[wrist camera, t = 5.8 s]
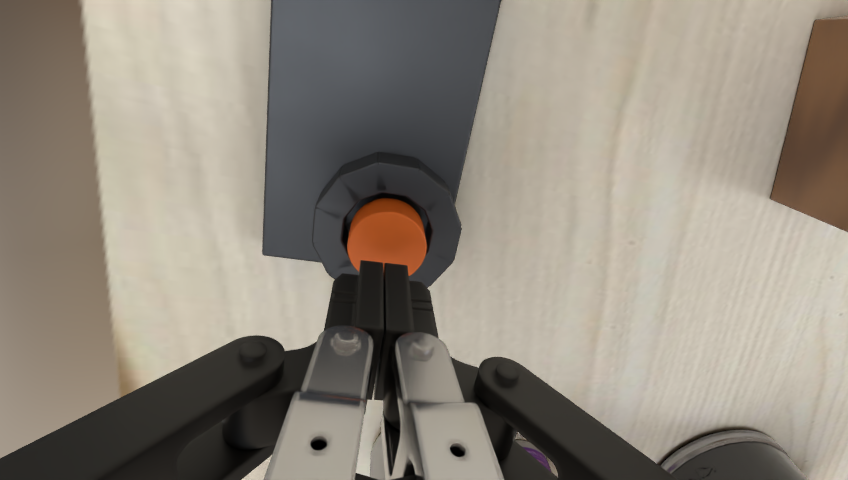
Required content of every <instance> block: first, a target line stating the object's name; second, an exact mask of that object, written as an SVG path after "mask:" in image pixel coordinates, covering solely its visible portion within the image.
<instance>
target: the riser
mask: <svg viewBox="0 0 848 480" xmlns="http://www.w3.org/2000/svg"><path fill="white" fill-rule="evenodd" d="M771 200H774V201H776V202H778V203H781V204H783V205H785V206H788V207H790V208H792V209H795V210H797V211H799V212H802V213H804V214H807V215H809V216H811V217H814V218H816V219H818V220H821V221H823V222H825V223H828V224H830V225H832V226H835V227H837V228H839V229H842V230H844V231H847V232H848V16H841V17H833V18H826V19H818V20H815V22H814V26H813V30H812V34H811V38H810V43H809V47H808V51H807V55H806V59H805V63H804V67H803V71H802V75H801V79H800V83H799V87H798V91H797V95H796V99H795V103H794V107H793V111H792V115H791V119H790V123H789V127H788V131H787V135H786V139H785V143H784V147H783V151H782V155H781V159H780V163H779V167H778V171H777V175H776V179H775V183H774V187H773V191H772V195H771Z"/></svg>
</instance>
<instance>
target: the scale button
mask: <svg viewBox="0 0 848 480" xmlns="http://www.w3.org/2000/svg"><path fill="white" fill-rule="evenodd" d="M347 250H348V255H349V258H350V261H351V263H352V264H353V266H354V267H355V268H356V269H357V270H358V271H359V268H360V261H361V260H366V261H375V262H383V268H384V264H385V263H393V264H401V265H407V266H408V275H409V276H410V275H412V274H413V273H414V272H415V271H416V270H417V269H418V268H419V267H420V266H421V264H422V262H423V260H424V258H425V255H426V250H427V243H426V237H425V232H424V227H423V223H422V220H421V218H420V216H419V214H418V213H417V212H416V211H415V209H414V208H412V207H411V206H410V205H408V204H407V203H405V202H403V201H400V200H398V199H393V198H381V199H376V200H373V201H371V202H369V203H367V204H365V205H364V206H363V207H361V208H360V209H359V210H358V211H357V213H356V214H355V216H354V218H353V220H352V222H351V227H350V232H349V237H348V243H347Z"/></svg>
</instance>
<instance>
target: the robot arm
mask: <svg viewBox="0 0 848 480" xmlns="http://www.w3.org/2000/svg"><path fill="white" fill-rule="evenodd" d="M431 302H432V301H431V295H430V291H429V290H428V289H427V287H426V286H425V285H424V284H423V283H422V282H418V281H409V275H408V266H407V265H401V264H393V263H385V264H384V268H383V262H375V261H366V260H361V261H360V268H359V275H354V274H345V273H342V274H341V275H340V276H339V277H338V278H336V279H335V280H334V282H333V287H332V293H331V297H330V302H329V308H328V313H327V318H326V323H325V328H324V331H323V332H322V333H321V334H320V335H319V337H318V340H317V342H315V343H314V344H312V345H310V346H308V347H305V348H302V349H297V350H290V351H284V348H283V346H282V345H281V344H280V343H279V342H278V341H276V340H274V339H272V338H270V337H265V336H247V337H242V338H239V339H237V340H234V341H232V342H230V343H228V344H226V345H224V346H222V347H220V348H218V349H216V350H214V351H212V352H210V353H208V354H206V355H204V356H202V357H200V358H198V359H196V360H194V361H193V362H191V363H189V364H187V365H185V366H183V367H181V368H179V369H177V370H175V371H173V372H171V373H169V374H167V375H165V376H163V377H161V378H159V379H157V380H155V381H153V382H151V383H149V384H147V385H145V386H143V387H141V388H139V389H137V390H135V391H133V392H131V393H129V394H127V395H125V396H123V397H121V398H119V399H117V400H115V401H113V402H111V403H109V404H107V405H105V406H103V407H101V408H99V409H97V410H96V411H94V412H91V413H90V414H88V415H86V416H84V417H82V418H80V419H78V420H76V421H74V422H72V423H70V424H68V425H66V426H64V427H62V428H60V429H58V430H56V431H54V432H52V433H50V434H48V435H46V436H44V437H42V438H40V439H38V440H36V441H34V442H32V443H30V444H28V445H26V446H24V447H22V448H20V449H18V450H16V451H14V452H12V453H10V454H8V455H6V456H4V457H2V458H1V459H0V480H241V479H242V478H244V477H245V476H246V475H247V474H249V473H250V472H251V471H252V470H254V469H255V468H256V467H257V466H259V465H260V464H261V463H262V462H263V461H265V460H266V459H267V458H268V457H270V456H271V455H272V457H271V460H270V463H269V466H268V469H267V472H266V474H265V477H264V480H378V479H375V478H371V477H368V476H364V475H361V474H357V473H356V467H357V460H358V453H359V446H360V439H361V432H362V425H363V418H364V414H365V410H366V404H367V399H369V400H372V395H373V389H374V400H383V414H382V419H381V436H382V447H383V459H384V470H385V480H809V478H808V477H807V476H806V475H805V474H804V473H803V472H802V471H801V470H800V469H799V468H798V467H797V466H796V465H795V464H794V463H793V462H792V461H791V460H790V458H789V456H788V455H787V453H786V452H785V451H784V450H783V449H782V448H781V447H780V446H779V445H778V444H777V443H776V442H775V441H774V440H773V439H772V438H771V437H769V436H767V435H766V434H763V433H760V432H757V431H751V430H729V431H723V432H718V433H714V434H711V435H708V436H705V437H702V438H700V439H697V440H695V441H693V442H691V443H689V444H687V445H685V446H684V447H682V448H681V449H679V450H677V451H676V452H675V453H673V454H672V455H671V456H670V457H669V458H667V459H666V460H665V461H664V462H663V463H662V464H661V465H660V466H659V465H658V464H656V463H655V462H654V461H652V460H651V459H650V458H648V457H647V456H645V455H644V454H643V453H641V452H640V451H639V450H637V449H636V448H634V447H633V446H632V445H630V444H629V443H628V442H626V441H625V440H623V439H622V438H621V437H619V436H618V435H617V434H615V433H614V432H612V431H611V430H610V429H608V428H607V427H606V426H604V425H603V424H601V423H600V422H599V421H597V420H596V419H595V418H593V417H592V416H590V415H589V414H588V413H586V412H585V411H584V410H582V409H581V408H580V407H578V406H577V405H575V404H574V403H573V402H571V401H570V400H569V399H567V398H566V397H564V396H563V395H562V394H560V393H559V392H558V391H556V390H555V389H553V388H552V387H551V386H549V385H548V384H547V383H545V382H544V381H542V380H541V379H540V378H538V377H537V376H536V375H534V374H533V373H531V372H530V371H529V370H527V369H526V368H525V367H523V366H522V365H520V364H519V363H517V362H515V361H513V360H510V359H507V358H502V357H491V358H488V359H485V360H484V361H483V362H482V363H481V364H480V366H479V368H477V367H474V366H471V365H468V364H465V363H462V362H459V361H457V360H455V359H454V358H452V357H451V356H450V354H449V351H448V349H447V347H446V345H445V344H444V343H443V342H442V341H441V340H440V339H439V338H438V333H437V328H436V322H435V317H434V311H433V306H432V303H431ZM374 383H375V386H374ZM517 432H519V433H520V434H521V435H522V436H523V437H525V438H526V439H527V440H528V441H529V442H530V443H532V444H533V445H534V446H535V447H536V448H537V449H539V450H540V451H541V452H542V453H543V454H545V455H546V456H547V457H548V458H549V459H550V460H551V461H552V462H553V464H554V465H555V467H556V469H557V472H558V478H557V477H556V476H555V475H554V474H553V473H552V472H550V471H549V470H548V469H547V468H546V467H545V466H544V465H542V464H541V463H540V462H539V461H538V460H537V459H536V458H534V457H533V456H532V455H531V454H530V453H529V452H527V451H526V450H525V449H524V448H523V447H522V446H521V445H519V444H518V443H517V442H516V441H515V440H514V439H515V436H516V434H517Z"/></svg>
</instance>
